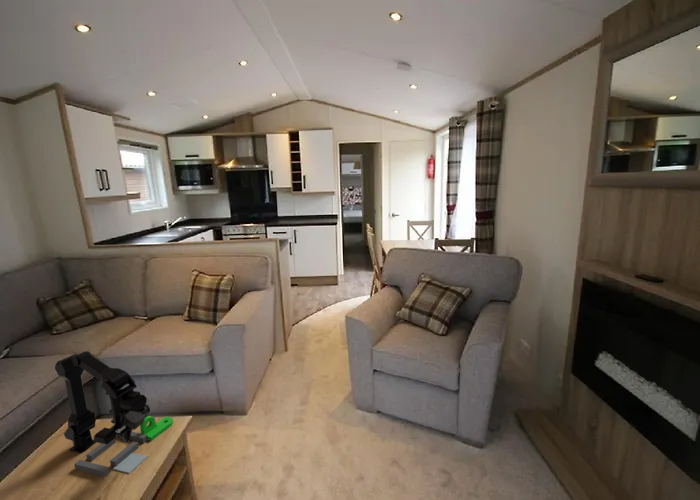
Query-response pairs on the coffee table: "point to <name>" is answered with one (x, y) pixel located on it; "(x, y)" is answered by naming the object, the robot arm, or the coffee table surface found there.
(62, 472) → the coffee table surface
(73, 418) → the robot arm
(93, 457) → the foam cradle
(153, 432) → the mechanical part
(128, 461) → the felt pad
